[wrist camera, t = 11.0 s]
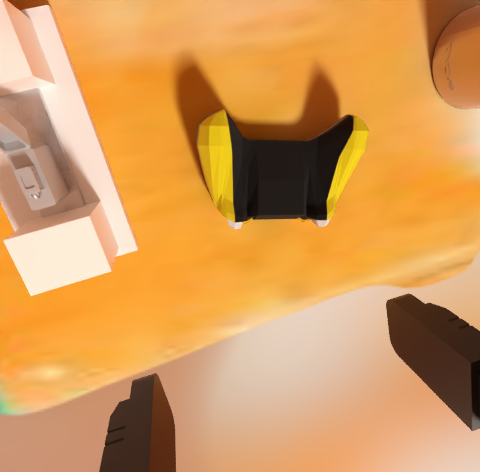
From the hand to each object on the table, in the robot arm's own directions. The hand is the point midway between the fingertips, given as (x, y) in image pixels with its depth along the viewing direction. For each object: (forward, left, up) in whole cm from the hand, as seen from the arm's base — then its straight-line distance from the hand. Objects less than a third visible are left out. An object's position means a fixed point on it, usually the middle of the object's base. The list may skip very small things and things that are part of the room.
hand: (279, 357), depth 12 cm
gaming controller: (-8, -2, -25) cm, 26 cm away
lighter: (+11, -8, -22) cm, 26 cm away
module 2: (+11, -1, -23) cm, 26 cm away
